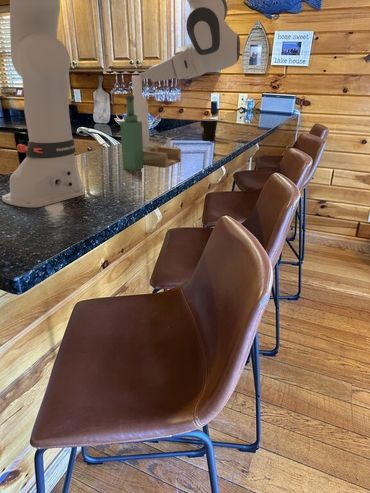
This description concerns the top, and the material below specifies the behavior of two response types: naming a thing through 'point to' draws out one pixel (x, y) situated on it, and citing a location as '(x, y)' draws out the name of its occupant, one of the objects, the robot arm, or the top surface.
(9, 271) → the top surface
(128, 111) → the green bottle
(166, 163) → the oak rest
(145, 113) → the bottle
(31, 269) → the top surface
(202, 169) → the top surface
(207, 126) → the coffee mug
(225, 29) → the robot arm
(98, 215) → the top surface
